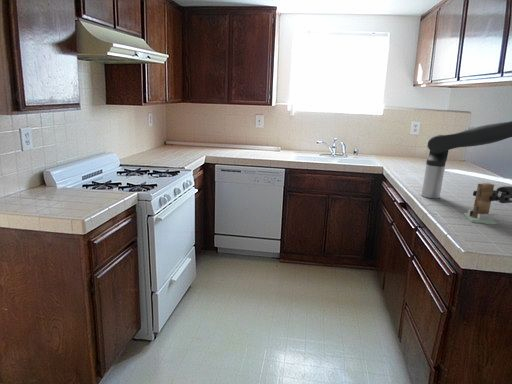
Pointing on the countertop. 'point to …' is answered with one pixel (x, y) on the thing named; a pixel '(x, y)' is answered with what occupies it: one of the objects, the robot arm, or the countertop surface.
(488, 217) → the hinge base
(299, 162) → the countertop surface
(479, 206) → the door
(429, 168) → the robot arm
